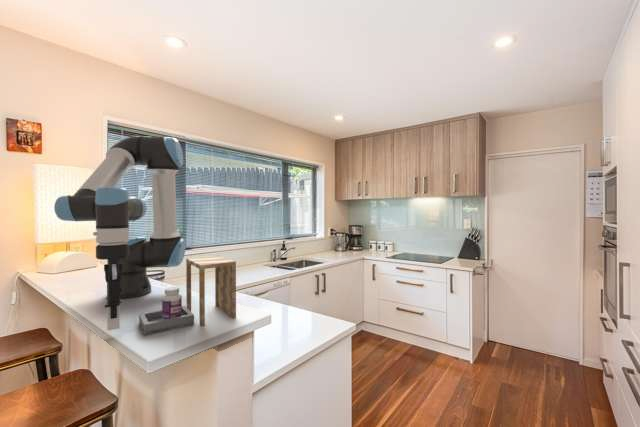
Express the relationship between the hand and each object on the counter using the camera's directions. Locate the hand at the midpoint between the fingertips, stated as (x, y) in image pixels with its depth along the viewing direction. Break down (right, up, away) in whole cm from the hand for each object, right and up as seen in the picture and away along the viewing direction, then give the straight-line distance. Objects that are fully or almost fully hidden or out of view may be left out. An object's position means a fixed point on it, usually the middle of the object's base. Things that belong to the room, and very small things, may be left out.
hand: (113, 328), depth 82 cm
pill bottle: (+12, -1, +9) cm, 15 cm away
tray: (+10, -2, +8) cm, 13 cm away
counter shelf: (+21, -2, +16) cm, 27 cm away
